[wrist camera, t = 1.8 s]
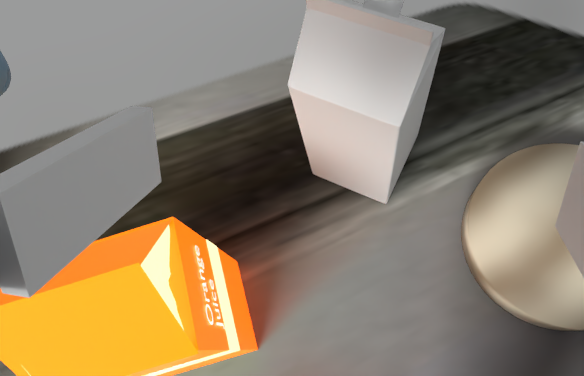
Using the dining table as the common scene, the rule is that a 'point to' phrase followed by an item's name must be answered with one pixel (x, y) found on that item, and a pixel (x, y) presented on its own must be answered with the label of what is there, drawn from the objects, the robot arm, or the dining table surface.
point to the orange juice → (131, 309)
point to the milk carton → (362, 90)
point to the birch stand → (525, 238)
